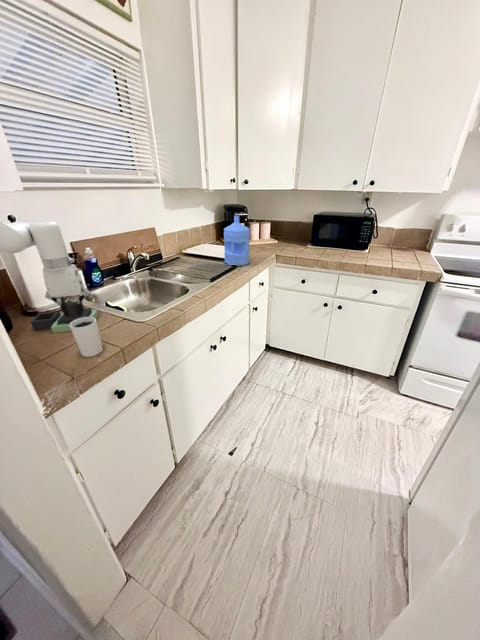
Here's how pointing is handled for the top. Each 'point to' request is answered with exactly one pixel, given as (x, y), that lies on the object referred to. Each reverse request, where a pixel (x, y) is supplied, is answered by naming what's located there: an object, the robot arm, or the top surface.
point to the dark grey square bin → (44, 320)
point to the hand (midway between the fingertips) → (74, 312)
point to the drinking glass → (87, 336)
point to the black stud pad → (73, 313)
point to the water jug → (236, 243)
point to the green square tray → (66, 326)
